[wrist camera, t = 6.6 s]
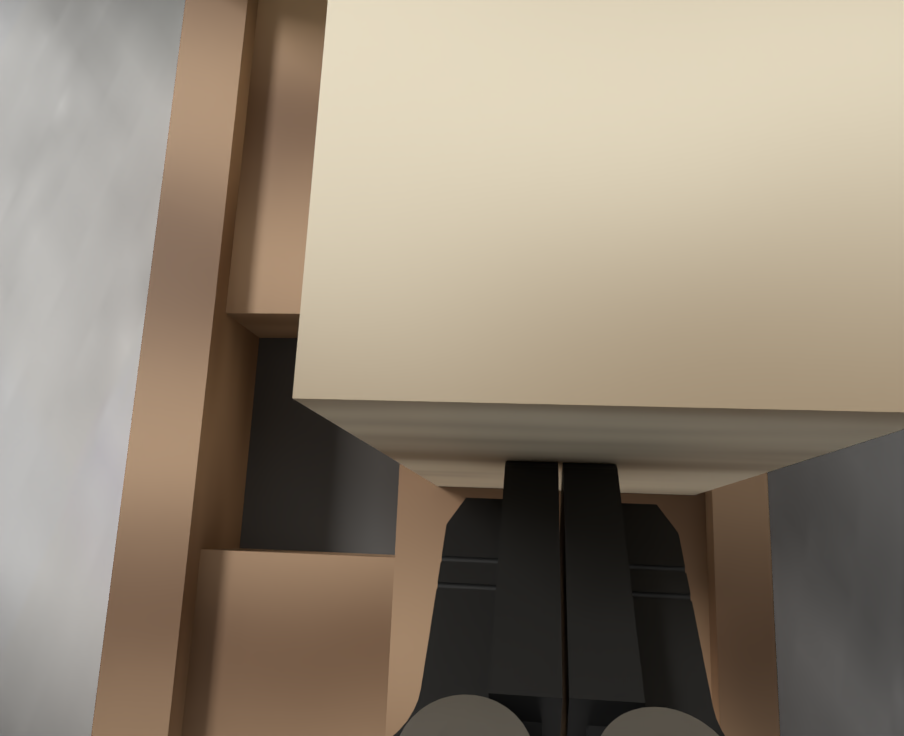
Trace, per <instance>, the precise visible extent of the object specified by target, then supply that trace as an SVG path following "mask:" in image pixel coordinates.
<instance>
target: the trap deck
mask: <svg viewBox="0 0 904 736" xmlns="http://www.w3.org/2000/svg"><path fill="white" fill-rule="evenodd" d="M327 5H328V0H186V1H185V8H184V16H183V24H182V32H181V40H180V47H179V55H178V63H177V71H176V79H175V86H174V94H173V102H172V110H171V118H170V125H169V133H168V141H167V149H166V157H165V164H164V172H163V180H162V188H161V196H160V203H159V211H158V219H157V227H156V235H155V242H154V250H153V258H152V266H151V274H150V281H149V289H148V297H147V305H146V313H145V320H144V328H143V336H142V344H141V352H140V359H139V367H138V375H137V383H136V391H135V398H134V406H133V414H132V422H131V430H130V437H129V445H128V453H127V461H126V469H125V476H124V484H123V492H122V500H121V508H120V515H119V523H118V531H117V539H116V547H115V554H114V562H113V570H112V578H111V586H110V593H109V601H108V609H107V617H106V625H105V632H104V640H103V648H102V656H101V664H100V671H99V679H98V687H97V695H96V703H95V710H94V718H93V726H92V734H91V736H393V735H394V734H396V733H397V732H398V731H399V730H400V729H401V727H402V726H403V725H404V724H405V723H406V721H407V720H408V719H409V717H410V715H411V714H412V712H413V710H414V708H415V706H416V703H417V701H418V698H419V694H420V690H421V685H422V678H423V672H424V665H425V659H426V653H427V646H428V640H429V633H430V627H431V620H432V614H433V608H434V601H435V595H436V589H437V586H438V576H439V569H440V563H441V561H442V550H443V544H444V537H445V531H446V524H447V523H448V521H449V520H450V519H451V517H452V516H453V515H454V513H455V512H456V511H457V509H458V508H459V506H460V505H461V504H462V502H463V501H464V500H465V498H490V499H503V488H475V487H447V486H436V485H435V484H433V483H431V482H430V481H428V480H426V479H425V478H423V477H422V476H420V475H418V474H417V473H415V472H413V471H412V470H410V469H408V468H407V467H405V466H403V465H402V464H400V463H398V462H397V461H395V460H393V459H392V458H390V457H388V456H387V455H385V454H384V453H382V452H380V451H379V450H377V449H375V448H374V447H372V446H370V445H369V444H367V443H365V442H364V441H362V440H360V439H359V438H357V437H355V436H354V435H352V434H350V433H349V432H347V431H345V430H344V429H342V428H341V427H339V426H337V425H336V424H334V423H332V422H331V421H329V420H327V419H326V418H324V417H322V416H321V415H319V414H317V413H316V412H314V411H312V410H311V409H309V408H307V407H306V406H304V405H303V404H301V403H299V402H298V401H296V400H294V399H293V398H292V397H293V386H294V375H295V364H296V352H297V341H298V330H299V319H300V307H301V296H302V285H303V274H304V263H305V251H306V240H307V229H308V218H309V207H310V195H311V184H312V173H313V162H314V150H315V139H316V128H317V117H318V106H319V94H320V83H321V72H322V61H323V50H324V38H325V27H326V16H327ZM620 494H621V502H622V503H634V504H657V505H658V507H659V508H660V509H661V511H662V512H663V513H664V515H665V516H666V517H667V519H668V520H669V521H670V523H671V524H672V525H673V527H674V528H675V529H676V531H677V532H678V533H679V538H680V543H681V548H682V553H683V558H684V563H685V573H687V578H688V583H689V588H690V593H691V595H690V598H691V601H692V603H693V608H694V613H695V618H696V623H697V628H698V634H699V639H700V644H701V649H702V654H703V659H704V664H705V669H706V674H707V679H708V684H709V689H710V694H711V699H712V704H713V708H714V712H715V715H716V719H717V721H718V723H719V725H720V728H721V730H722V732H723V733H724V735H725V736H780V724H779V703H778V683H777V662H776V642H775V622H774V601H773V581H772V560H771V540H770V519H769V499H768V478H767V473H764V474H760V475H757V476H754V477H751V478H748V479H744V480H741V481H738V482H735V483H732V484H729V485H725V486H722V487H719V488H716V489H713V490H710V491H706V492H703V493H700V494H697V495H674V494H646V493H620ZM560 504H561V490H559V529H560Z"/></svg>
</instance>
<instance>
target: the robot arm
mask: <svg viewBox="0 0 904 736" xmlns="http://www.w3.org/2000/svg"><path fill="white" fill-rule="evenodd" d="M690 595H691V593H690V588H689V583H688V578H687V573H685V563H684V558H683V553H682V548H681V543H680V538H679V533H678V532H677V531H676V529H675V528H674V527H673V525H672V524H671V523H670V521H669V520H668V519H667V517H666V516H665V515H664V513H663V512H662V511H661V509H660V508H659V507H658V505H657V504H634V503H622V502H621V494H620V485H619V477H618V469H617V466H616V464H588V463H562V479H561V504H560V529H559V477H558V463H548V462H516V461H506V462H505V472H504V486H503V499H490V498H465V500H464V501H463V502H462V504H461V505H460V506H459V508H458V509H457V511H456V512H455V513H454V515H453V516H452V517H451V519H450V520H449V521H448V523H447V524H446V531H445V537H444V544H443V550H442V561H441V563H440V569H439V576H438V586H437V589H436V595H435V601H434V608H433V614H432V620H431V627H430V633H429V640H428V646H427V653H426V659H425V665H424V672H423V678H422V685H421V690H420V694H419V698H418V701H417V703H416V706H415V708H414V710H413V712H412V714H411V715H410V717H409V719H408V720H407V721H406V723H405V724H404V725H403V726H402V727H401V729H400V730H399V731H398V732H397V733H396V734H394V735H393V736H725V735H724V733H723V732H722V730H721V728H720V725H719V723H718V721H717V719H716V715H715V712H714V708H713V704H712V699H711V694H710V689H709V684H708V679H707V674H706V669H705V664H704V659H703V654H702V649H701V644H700V639H699V634H698V628H697V623H696V618H695V613H694V608H693V603H692V601H691V598H690Z"/></svg>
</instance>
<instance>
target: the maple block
mask: <svg viewBox="0 0 904 736" xmlns="http://www.w3.org/2000/svg"><path fill="white" fill-rule="evenodd" d="M292 398H293V399H294V400H296V401H298V402H299V403H301V404H303V405H304V406H306V407H307V408H309V409H311V410H312V411H314V412H316V413H317V414H319V415H321V416H322V417H324V418H326V419H327V420H329V421H331V422H332V423H334V424H336V425H337V426H339V427H341V428H342V429H344V430H345V431H347V432H349V433H350V434H352V435H354V436H355V437H357V438H359V439H360V440H362V441H364V442H365V443H367V444H369V445H370V446H372V447H374V448H375V449H377V450H379V451H380V452H382V453H384V454H385V455H387V456H388V457H390V458H392V459H393V460H395V461H397V462H398V463H400V464H402V465H403V466H405V467H407V468H408V469H410V470H412V471H413V472H415V473H417V474H418V475H420V476H422V477H423V478H425V479H426V480H428V481H430V482H431V483H433V484H435V485H436V486H447V487H475V488H503V486H504V472H505V462H506V461H516V462H548V463H558V477H559V490H561V479H562V463H588V464H616V466H617V469H618V477H619V485H620V493H646V494H674V495H697V494H700V493H703V492H706V491H710V490H713V489H716V488H719V487H722V486H725V485H729V484H732V483H735V482H738V481H741V480H744V479H748V478H751V477H754V476H757V475H760V474H764V473H767V472H770V471H773V470H776V469H779V468H783V467H786V466H789V465H792V464H795V463H799V462H802V461H805V460H808V459H811V458H814V457H818V456H821V455H824V454H827V453H830V452H833V451H837V450H840V449H843V448H846V447H849V446H853V445H856V444H859V443H862V442H865V441H868V440H872V439H875V438H878V437H881V436H884V435H887V434H891V433H894V432H897V431H900V430H903V429H904V0H328V5H327V16H326V27H325V38H324V50H323V61H322V72H321V83H320V94H319V106H318V117H317V128H316V139H315V150H314V162H313V173H312V184H311V195H310V207H309V218H308V229H307V240H306V251H305V263H304V274H303V285H302V296H301V307H300V319H299V330H298V341H297V352H296V364H295V375H294V386H293V397H292Z"/></svg>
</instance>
